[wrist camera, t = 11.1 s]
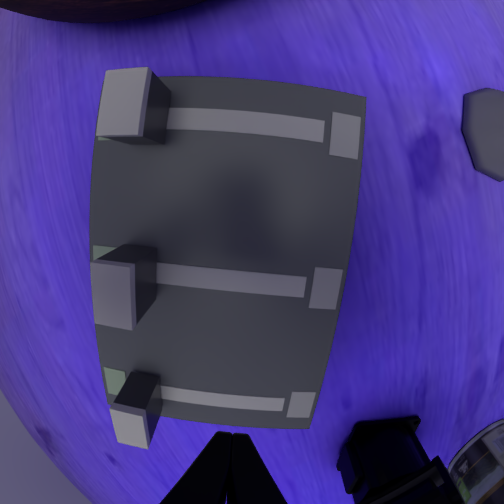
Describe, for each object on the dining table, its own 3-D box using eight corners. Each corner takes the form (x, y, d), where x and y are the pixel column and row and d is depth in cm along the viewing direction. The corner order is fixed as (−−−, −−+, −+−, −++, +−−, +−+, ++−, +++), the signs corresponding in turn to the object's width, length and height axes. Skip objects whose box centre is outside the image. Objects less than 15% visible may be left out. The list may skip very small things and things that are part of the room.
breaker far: (159, 376, 18) (142, 416, 14) (162, 409, 19) (148, 449, 15) (131, 371, 18) (109, 408, 14) (135, 404, 19) (117, 442, 15)
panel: (357, 103, 16) (366, 96, 15) (306, 415, 21) (309, 429, 19) (113, 86, 16) (102, 80, 14) (114, 392, 21) (107, 405, 19)
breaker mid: (156, 247, 16) (129, 267, 12) (156, 299, 17) (132, 330, 13) (123, 244, 16) (90, 262, 12) (124, 294, 17) (94, 323, 13)
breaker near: (171, 91, 14) (147, 66, 10) (164, 144, 15) (137, 134, 11) (136, 92, 14) (106, 70, 10) (130, 144, 15) (95, 135, 11)
